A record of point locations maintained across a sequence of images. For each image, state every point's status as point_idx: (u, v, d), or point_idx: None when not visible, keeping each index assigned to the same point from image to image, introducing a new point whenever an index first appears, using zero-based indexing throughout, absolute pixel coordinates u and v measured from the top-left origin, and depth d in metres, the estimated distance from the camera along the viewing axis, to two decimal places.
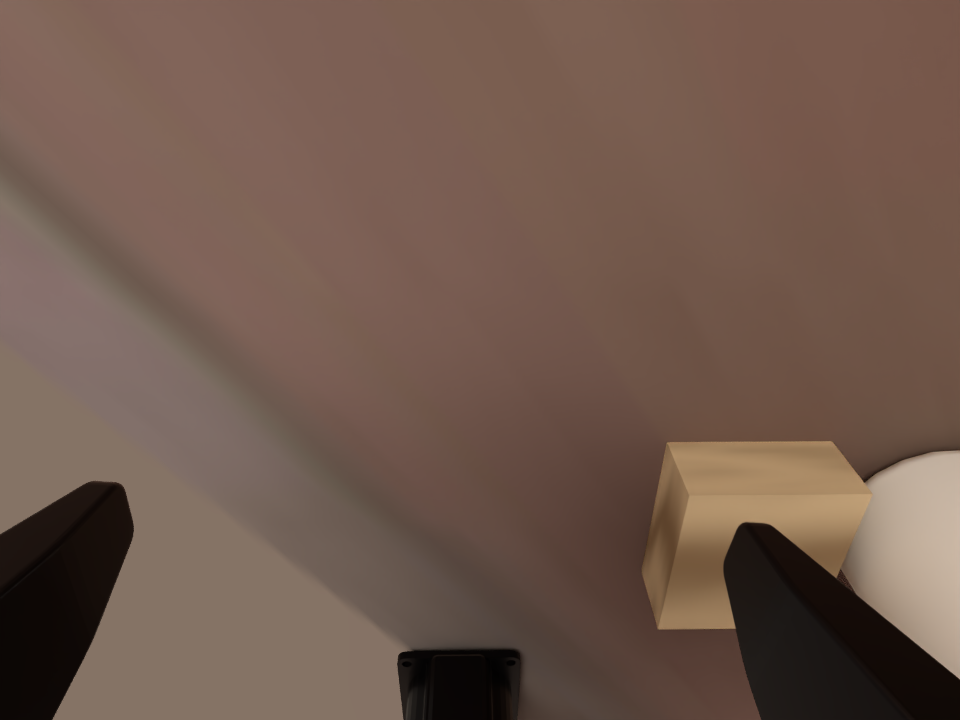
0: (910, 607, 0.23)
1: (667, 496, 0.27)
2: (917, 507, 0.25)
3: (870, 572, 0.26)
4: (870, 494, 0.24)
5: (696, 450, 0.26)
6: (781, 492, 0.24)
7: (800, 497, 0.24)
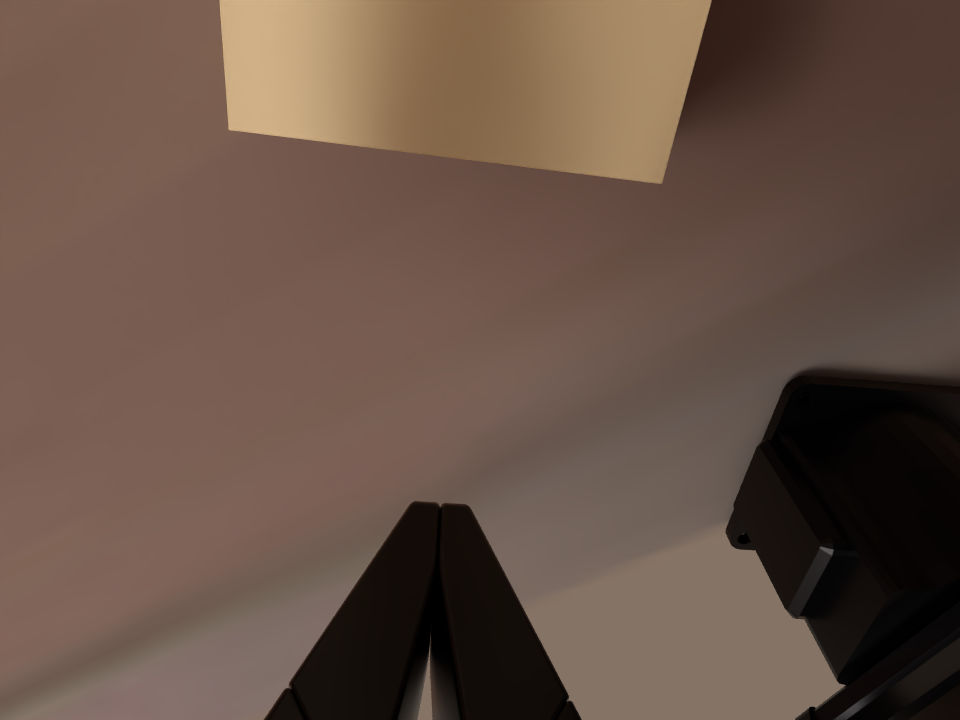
0: None
1: None
2: None
3: None
4: None
5: None
6: None
7: None
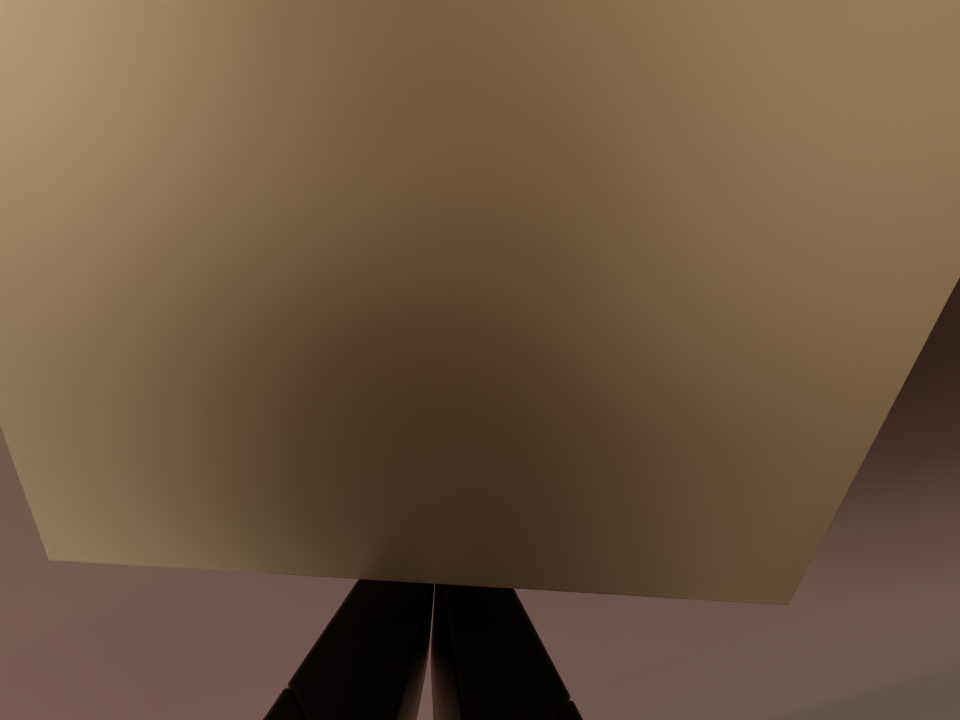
0: None
1: None
2: None
3: None
4: None
5: None
6: None
7: None
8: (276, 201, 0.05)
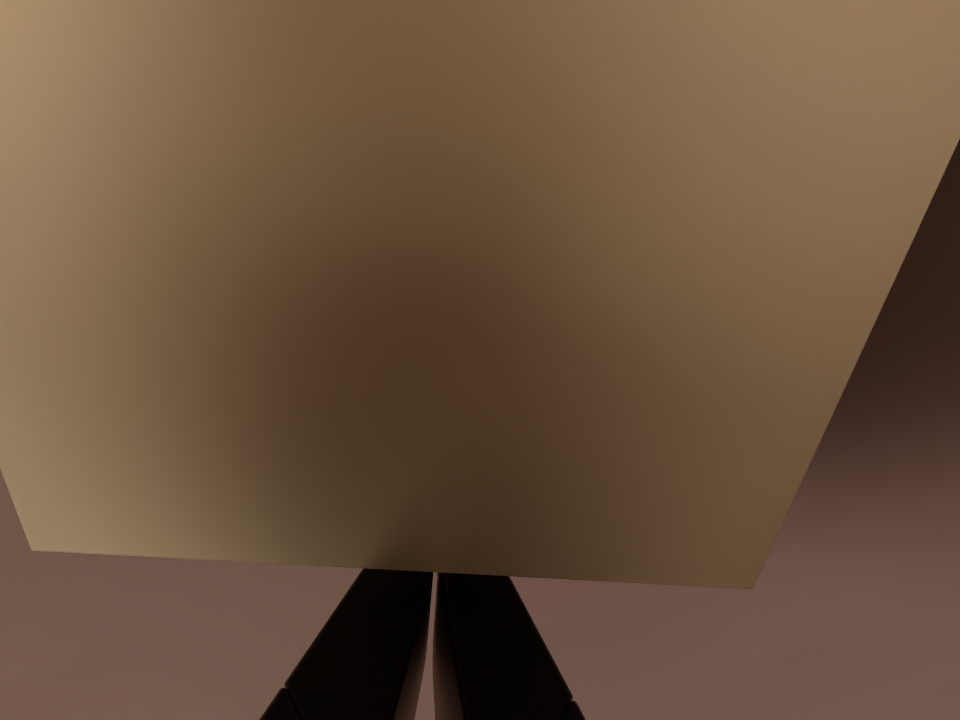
0: None
1: None
2: None
3: None
4: None
5: None
6: None
7: None
8: (241, 198, 0.05)
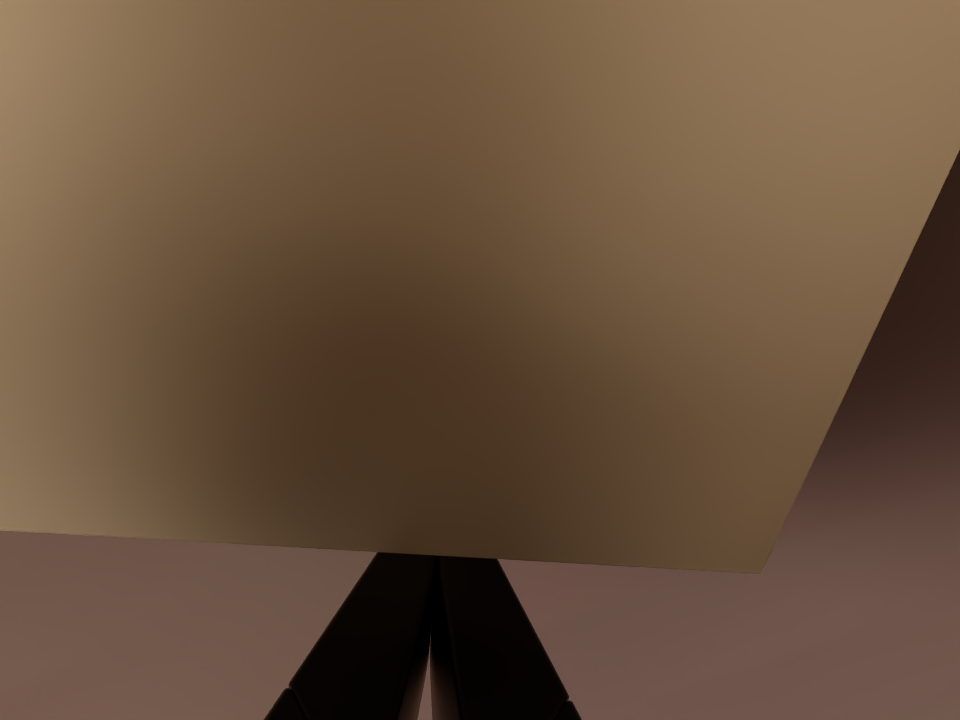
0: None
1: None
2: None
3: None
4: None
5: None
6: None
7: None
8: (188, 118, 0.04)
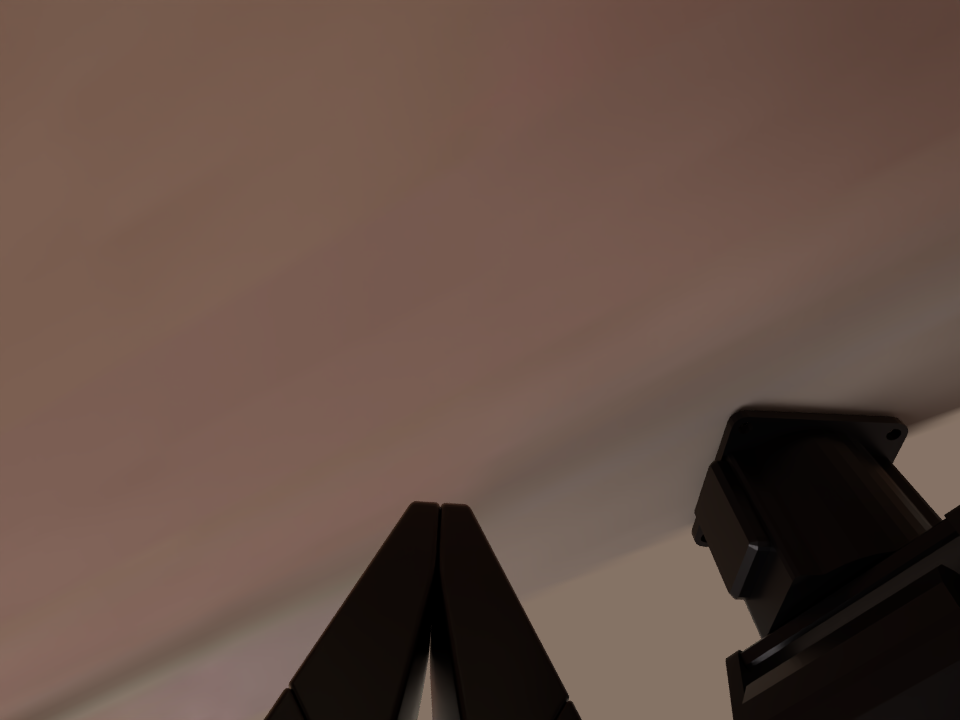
0: None
1: None
2: None
3: None
4: None
5: None
6: None
7: None
8: None
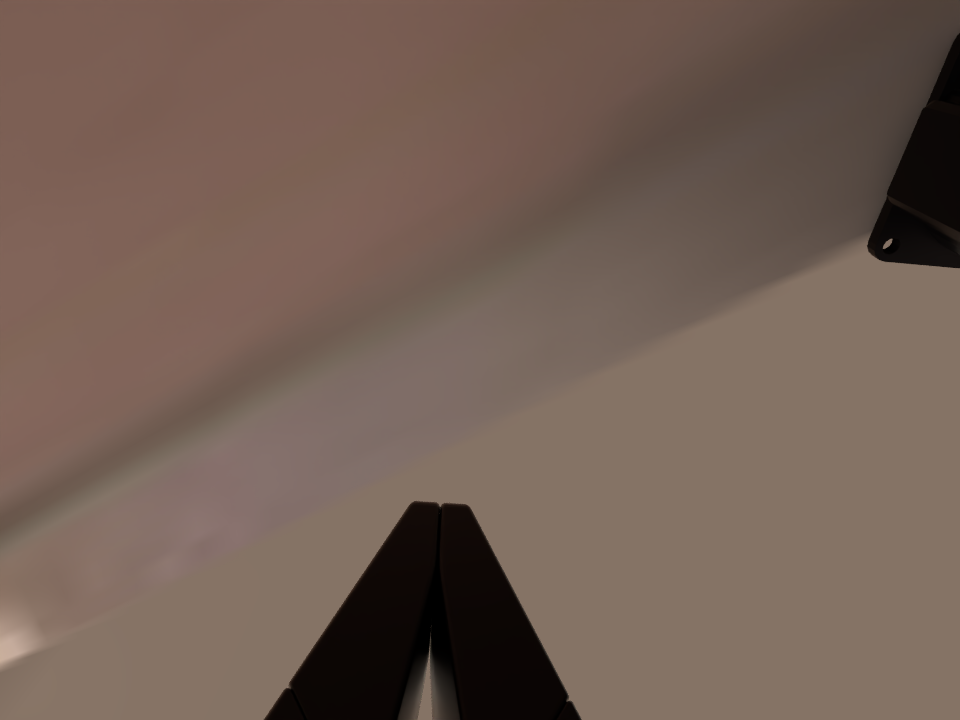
0: None
1: None
2: None
3: None
4: None
5: None
6: None
7: None
8: None
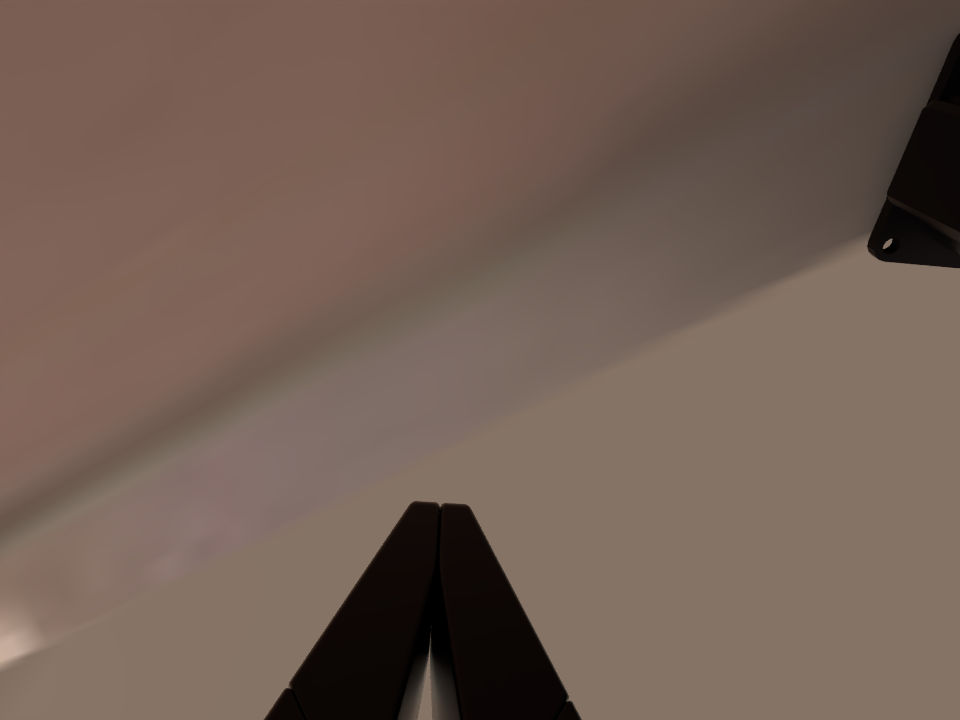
0: None
1: None
2: None
3: None
4: None
5: None
6: None
7: None
8: None
